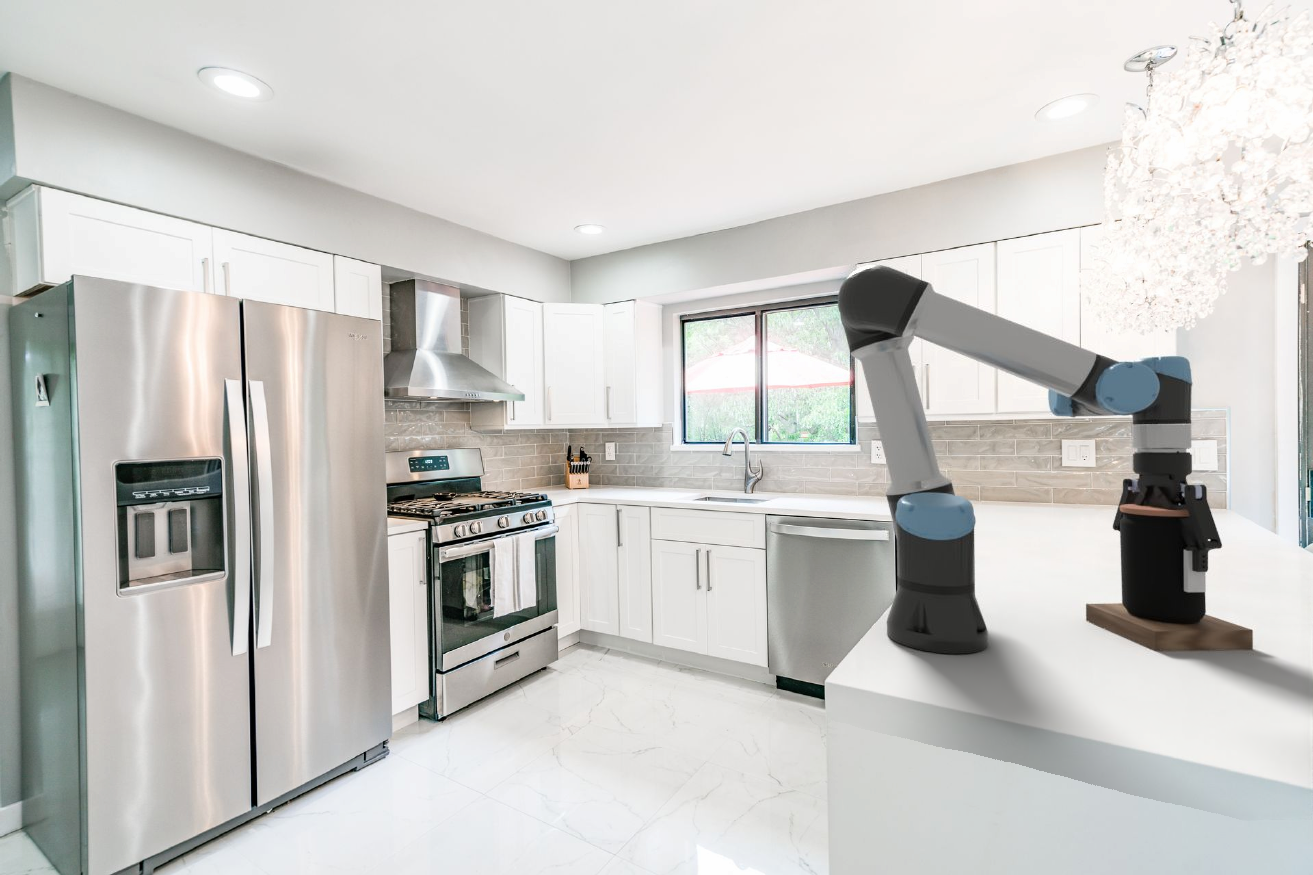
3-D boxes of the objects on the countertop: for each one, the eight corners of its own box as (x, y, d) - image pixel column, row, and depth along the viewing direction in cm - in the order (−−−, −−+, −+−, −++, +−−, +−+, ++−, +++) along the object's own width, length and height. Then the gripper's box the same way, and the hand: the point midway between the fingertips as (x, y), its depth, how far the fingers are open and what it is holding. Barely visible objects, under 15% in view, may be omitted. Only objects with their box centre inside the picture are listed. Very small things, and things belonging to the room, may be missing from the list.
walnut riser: (1155, 650, 93) (1155, 631, 93) (1086, 620, 108) (1086, 603, 108) (1252, 649, 93) (1252, 630, 93) (1170, 619, 108) (1170, 602, 108)
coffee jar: (1225, 624, 95) (1221, 510, 95) (1155, 625, 96) (1152, 511, 96) (1169, 606, 106) (1166, 503, 106) (1107, 607, 106) (1104, 504, 106)
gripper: (1254, 452, 89) (1255, 601, 89) (1128, 448, 112) (1129, 566, 113) (1203, 453, 89) (1204, 602, 89) (1088, 449, 112) (1089, 566, 113)
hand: (1162, 582), depth 101 cm, fingers open, 11 cm apart
